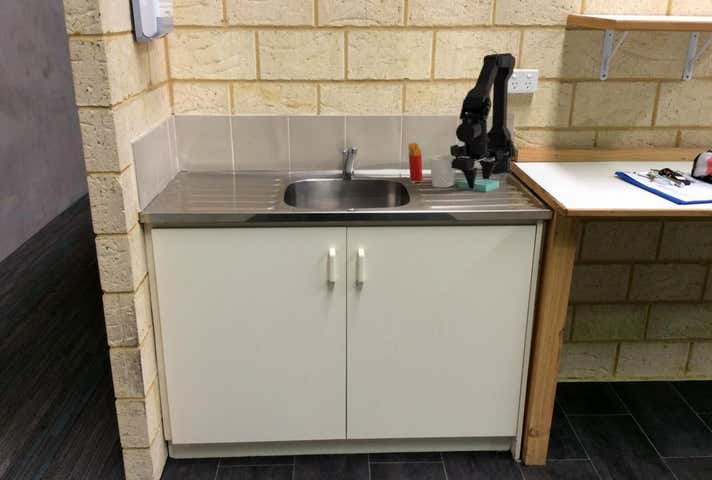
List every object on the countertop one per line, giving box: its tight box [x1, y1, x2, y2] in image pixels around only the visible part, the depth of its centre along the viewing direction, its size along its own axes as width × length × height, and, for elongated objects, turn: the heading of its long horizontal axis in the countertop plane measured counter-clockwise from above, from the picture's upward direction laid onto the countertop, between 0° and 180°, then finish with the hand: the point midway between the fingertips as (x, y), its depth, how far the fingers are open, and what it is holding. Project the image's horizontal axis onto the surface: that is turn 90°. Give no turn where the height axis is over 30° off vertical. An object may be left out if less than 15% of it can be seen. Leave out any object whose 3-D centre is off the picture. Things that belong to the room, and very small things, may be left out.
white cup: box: [429, 154, 455, 188], centre depth 196 cm, size 8×8×10 cm
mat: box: [453, 185, 505, 195], centre depth 191 cm, size 10×12×1 cm
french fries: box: [407, 142, 423, 183], centre depth 207 cm, size 9×4×13 cm, turn 175°
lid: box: [457, 177, 500, 193], centre depth 190 cm, size 6×11×2 cm, turn 41°
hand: (478, 185), depth 190 cm, fingers closed on lid, 6 cm apart
